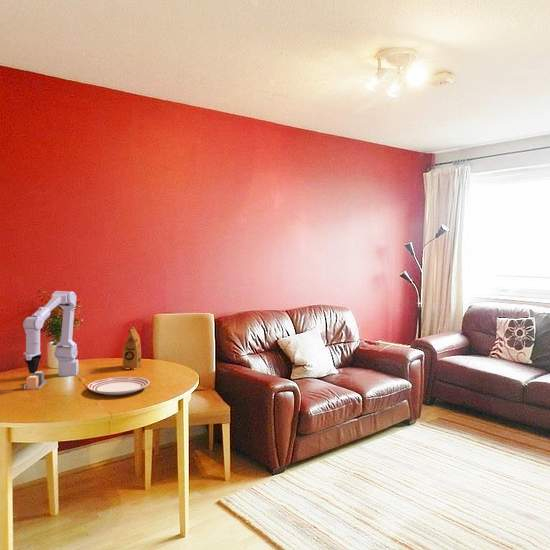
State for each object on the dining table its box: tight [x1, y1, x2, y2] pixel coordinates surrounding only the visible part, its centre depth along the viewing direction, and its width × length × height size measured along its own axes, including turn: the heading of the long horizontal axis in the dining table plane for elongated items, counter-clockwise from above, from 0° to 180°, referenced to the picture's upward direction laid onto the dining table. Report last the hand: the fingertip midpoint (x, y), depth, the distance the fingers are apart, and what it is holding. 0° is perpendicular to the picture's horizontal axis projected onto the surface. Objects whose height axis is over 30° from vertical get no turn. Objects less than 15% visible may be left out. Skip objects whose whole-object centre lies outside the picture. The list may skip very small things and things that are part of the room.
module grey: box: [31, 370, 45, 384], centre depth 224 cm, size 4×4×5 cm
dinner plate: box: [87, 376, 150, 396], centre depth 221 cm, size 28×27×3 cm
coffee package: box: [122, 326, 142, 370], centre depth 262 cm, size 10×12×22 cm
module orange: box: [25, 375, 38, 390], centre depth 216 cm, size 4×4×5 cm
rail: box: [23, 379, 47, 391], centre depth 220 cm, size 6×12×3 cm, turn 12°
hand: (33, 372), depth 216 cm, fingers open, 3 cm apart
